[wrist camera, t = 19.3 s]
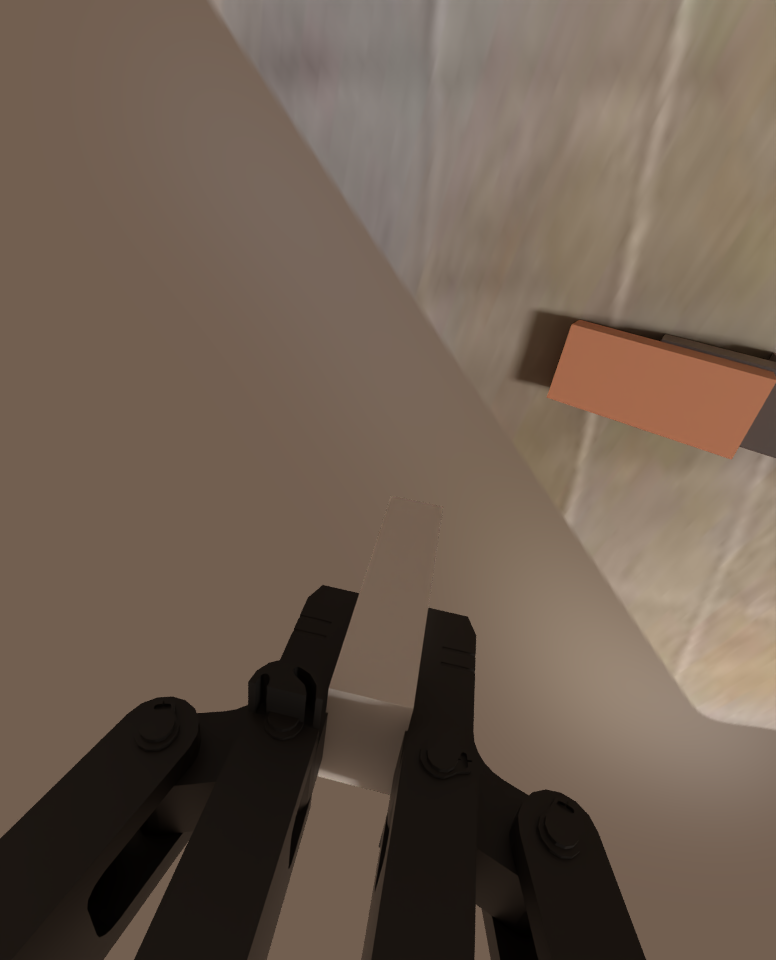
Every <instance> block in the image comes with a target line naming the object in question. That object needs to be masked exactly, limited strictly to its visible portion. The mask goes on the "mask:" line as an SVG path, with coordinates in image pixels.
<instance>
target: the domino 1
mask: <svg viewBox="0 0 776 960" xmlns="http://www.w3.org/2000/svg"><path fill="white" fill-rule="evenodd" d="M775 383H776V376H775V374H774V372H772V371H768V370H765V369H761V368H757V367H754V366H750V365H746V364H742V363H739V362H735V361H731V360H728V359H724V358H720V357H716V356H713V355H709V354H705V353H702V352H698V351H694V350H691V349H687V348H683V347H679V346H676V345H672V344H668V343H665V342H661V341H657V340H653V339H650V338H646V337H642V336H639V335H635V334H631V333H627V332H624V331H620V330H616V329H613V328H609V327H605V326H602V325H598V324H594V323H590V322H587V321H583V320H578V321H576V322H575V323H573V324H572V325H571V328H570V331H569V334H568V337H567V340H566V342H565V345H564V348H563V351H562V354H561V357H560V360H559V363H558V366H557V369H556V372H555V375H554V378H553V381H552V384H551V386H550V389H549V392H548V395H547V398H550V399H553V400H556V401H559V402H562V403H565V404H568V405H571V406H574V407H577V408H580V409H583V410H586V411H589V412H592V413H595V414H598V415H601V416H604V417H607V418H610V419H613V420H616V421H619V422H622V423H625V424H628V425H630V426H633V427H636V428H639V429H642V430H645V431H648V432H651V433H654V434H657V435H660V436H663V437H666V438H669V439H672V440H675V441H678V442H681V443H684V444H687V445H690V446H693V447H696V448H699V449H702V450H705V451H708V452H711V453H714V454H717V455H720V456H723V457H726V458H729V459H732V458H733V456H734V454H735V453H736V451H737V449H738V448H739V446H740V444H741V442H742V441H743V439H744V437H745V435H746V434H747V432H748V430H749V428H750V427H751V425H752V423H753V422H754V420H755V418H756V416H757V415H758V413H759V411H760V409H761V408H762V406H763V404H764V402H765V401H766V399H767V397H768V395H769V394H770V392H771V390H772V389H773V387H774V385H775Z"/></svg>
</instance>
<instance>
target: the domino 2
mask: <svg viewBox="0 0 776 960" xmlns="http://www.w3.org/2000/svg"><path fill="white" fill-rule="evenodd" d="M661 342H665V343H668V344H672V345H676V346H679V347H683V348H687V349H691V350H694V351H698V352H702V353H705V354H709V355H713V356H716V357H720V358H724V359H728V360H731V361H735V362H739V363H742V364H746V365H750V366H754V367H757V368H761V369H765V370H768V371H772V372H774V374H775V376H776V362H773V361H769V360H766V359H762V358H758V357H754V356H750V355H746V354H742V353H738V352H734V351H731V350H727V349H723V348H719V347H715V346H711V345H707V344H703V343H699V342H695V341H692V340H688V339H684V338H680V337H676V336H672V335H668V334H665V335H664V337H663V338H662V340H661ZM739 447H742V448H745V449H749V450H752V451H755V452H758V453H761V454H764V455H767V456H771V457H774V458H776V383H775V385H774V387H773V389H772V390H771V392H770V394H769V395H768V397H767V399H766V401H765V402H764V404H763V406H762V408H761V409H760V411H759V413H758V415H757V416H756V418H755V420H754V422H753V423H752V425H751V427H750V428H749V430H748V432H747V434H746V435H745V437H744V439H743V441H742V442H741V444H740V446H739Z"/></svg>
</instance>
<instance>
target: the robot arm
mask: <svg viewBox="0 0 776 960" xmlns="http://www.w3.org/2000/svg"><path fill="white" fill-rule="evenodd" d="M442 510H443V506H437V505H433V504H428V503H424V502H419V501H414V500H410V499H405V498H400V497H395V496H391V497H390V501H389V504H388V507H387V510H386V513H385V516H384V519H383V522H382V525H381V528H380V531H379V534H378V538H377V541H376V544H375V547H374V550H373V553H372V556H371V559H370V562H369V565H368V568H367V571H366V575H365V578H364V581H363V584H362V587H361V590H360V593H355V592H351V591H347V590H342V589H338V588H333V587H329V586H324V585H322V586H321V587H320V588H319V589H318V590H316V591H315V592H314V593H313V594H312V595H311V596H309V597H308V599H307V601H306V604H305V605H304V608H303V610H302V612H301V614H300V618H299V619H298V621H297V623H296V626H295V628H294V631H293V633H292V635H291V637H290V639H289V641H288V644H287V646H286V648H285V650H284V653H283V655H282V657H281V659H280V660H279V661H275V662H271V663H268V664H267V665H265V666H263V667H262V668H260V669H259V670H257V671H256V672H255V674H254V675H253V676H252V678H251V679H250V680H249V682H248V686H249V687H248V697H249V698H248V699H249V700H248V705H247V706H244V707H242V708H239V709H236V710H231V711H224V712H209V713H196V710H195V708H194V707H192V706H191V705H190V704H189V703H188V702H186V701H185V700H182V699H178V698H175V697H160V698H155V699H153V700H150V701H147V702H144V703H142V704H140V705H139V706H138V707H136V708H135V709H133V710H132V711H131V712H129V713H128V714H127V715H126V716H125V717H124V718H123V719H122V720H121V721H120V722H119V723H118V724H117V725H116V726H115V727H114V728H113V729H112V730H111V731H110V732H109V733H108V734H107V735H106V736H105V737H104V738H103V739H101V740H100V741H99V742H98V743H97V744H96V745H95V747H93V748H92V749H91V750H90V752H88V753H87V754H86V755H85V756H84V757H83V758H82V759H81V760H80V761H79V762H78V763H77V764H76V765H75V766H74V767H73V768H72V769H71V770H70V771H69V772H68V773H67V774H66V775H65V776H64V777H63V778H62V779H61V780H60V781H59V782H58V783H57V784H56V785H55V786H54V787H52V788H51V790H49V792H47V793H46V795H44V796H43V797H42V798H41V799H40V800H39V801H38V802H37V803H36V804H35V805H34V806H33V807H32V808H31V809H30V810H29V811H28V812H27V813H26V814H25V815H24V816H23V817H22V818H21V819H20V820H19V821H18V822H17V823H16V824H15V825H14V826H13V827H12V828H11V829H10V830H9V831H8V832H7V833H6V834H5V835H3V836H2V837H1V838H0V960H104V958H105V957H106V955H107V954H108V952H109V951H110V950H111V948H112V947H113V945H114V944H115V943H116V941H117V940H118V939H119V937H120V936H121V934H122V933H123V932H124V930H125V929H126V927H127V926H128V925H129V923H130V922H131V920H132V919H133V918H134V916H135V915H136V913H137V912H138V911H139V909H140V908H141V906H142V905H143V904H144V902H145V901H146V899H147V898H148V897H149V895H150V894H151V892H152V891H153V890H154V888H155V887H156V886H157V884H158V883H159V881H160V880H161V879H162V877H163V876H164V874H165V873H166V872H167V870H168V869H169V867H170V866H171V865H172V863H173V862H174V860H175V859H176V857H177V856H178V854H179V853H180V852H181V851H182V849H183V848H184V846H185V845H186V844H187V842H188V841H189V842H188V844H187V846H186V848H185V851H184V853H183V855H182V857H181V859H180V861H179V863H178V866H177V868H176V870H175V872H174V874H173V877H172V879H171V881H170V883H169V885H168V887H167V890H166V892H165V894H164V896H163V898H162V900H161V903H160V905H159V907H158V909H157V911H156V913H155V916H154V918H153V920H152V922H151V924H150V926H149V929H148V931H147V933H146V935H145V937H144V939H143V942H142V944H141V946H140V948H139V950H138V952H137V955H136V957H135V959H134V960H267V956H268V953H269V949H270V946H271V942H272V939H273V935H274V932H275V928H276V925H277V921H278V918H279V914H280V911H281V908H282V904H283V900H284V897H285V893H286V890H287V887H288V883H289V880H290V876H291V873H292V869H293V866H294V863H295V859H296V856H297V852H298V849H299V845H300V842H301V838H302V835H303V831H304V827H305V824H306V821H307V817H308V814H309V810H310V806H311V796H312V792H313V788H314V785H315V781H316V778H317V775H318V776H319V777H323V778H327V779H330V780H335V781H339V782H342V783H346V784H350V785H354V786H358V787H361V788H365V789H369V790H373V791H377V792H381V793H385V794H388V795H390V801H389V807H388V813H387V817H386V821H385V825H384V828H383V833H382V836H381V840H380V843H379V847H380V853H379V859H378V864H377V870H376V876H375V882H374V888H373V894H372V900H371V906H370V912H369V919H368V924H367V930H366V936H365V941H364V948H363V953H362V959H361V960H474V952H475V951H474V950H475V905H476V904H477V905H478V906H479V907H481V908H482V912H483V918H484V924H485V929H486V935H487V940H488V946H489V952H490V957H491V960H646V959H645V956H644V953H643V950H642V948H641V945H640V942H639V940H638V937H637V934H636V932H635V929H634V926H633V924H632V921H631V918H630V916H629V913H628V911H627V908H626V905H625V903H624V900H623V897H622V894H621V892H620V889H619V886H618V884H617V881H616V879H615V876H614V873H613V871H612V868H611V865H610V863H609V860H608V858H607V855H606V852H605V850H604V847H603V844H602V841H601V839H600V836H599V834H598V831H597V829H596V827H595V826H594V824H593V822H592V820H591V819H590V816H589V815H588V814H587V813H586V812H585V811H584V810H583V809H582V808H581V807H580V806H579V804H578V803H577V802H576V801H574V800H572V799H570V798H569V797H567V796H565V795H564V794H562V793H559V792H555V791H550V790H542V791H537V792H533V793H531V794H530V795H527V794H525V793H524V792H522V791H521V790H519V789H517V788H515V787H514V786H512V785H511V784H509V783H507V782H506V781H504V780H503V779H501V778H500V777H499V776H497V775H496V774H495V773H493V772H492V771H491V770H490V768H489V767H488V766H487V765H486V764H485V763H484V761H483V760H482V758H481V757H480V755H479V753H478V751H477V748H476V745H475V743H474V734H473V721H474V719H473V718H474V688H475V687H474V686H475V653H476V634H475V632H474V630H473V627H472V625H471V623H470V621H469V619H468V617H467V616H462V615H458V614H454V613H449V612H445V611H440V610H436V609H432V608H428V605H429V599H430V592H431V585H432V578H433V572H434V565H435V558H436V551H437V544H438V538H439V531H440V524H441V517H442ZM189 839H190V840H189Z"/></svg>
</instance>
